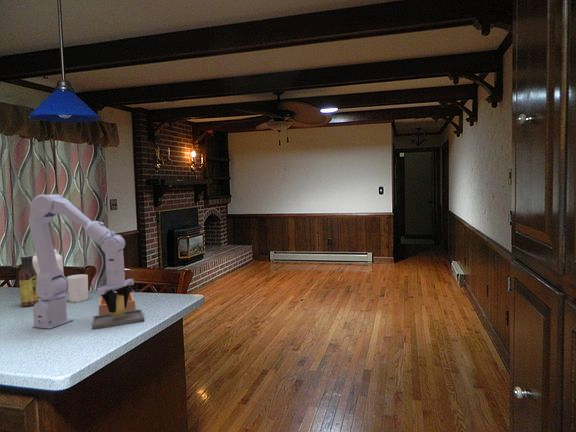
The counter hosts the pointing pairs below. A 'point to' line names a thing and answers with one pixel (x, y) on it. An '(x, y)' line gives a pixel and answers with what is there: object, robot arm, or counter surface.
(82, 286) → the white cup
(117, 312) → the cylinder
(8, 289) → the counter surface
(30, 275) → the sauce bottle
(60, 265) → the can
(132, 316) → the tray
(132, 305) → the orange open box
